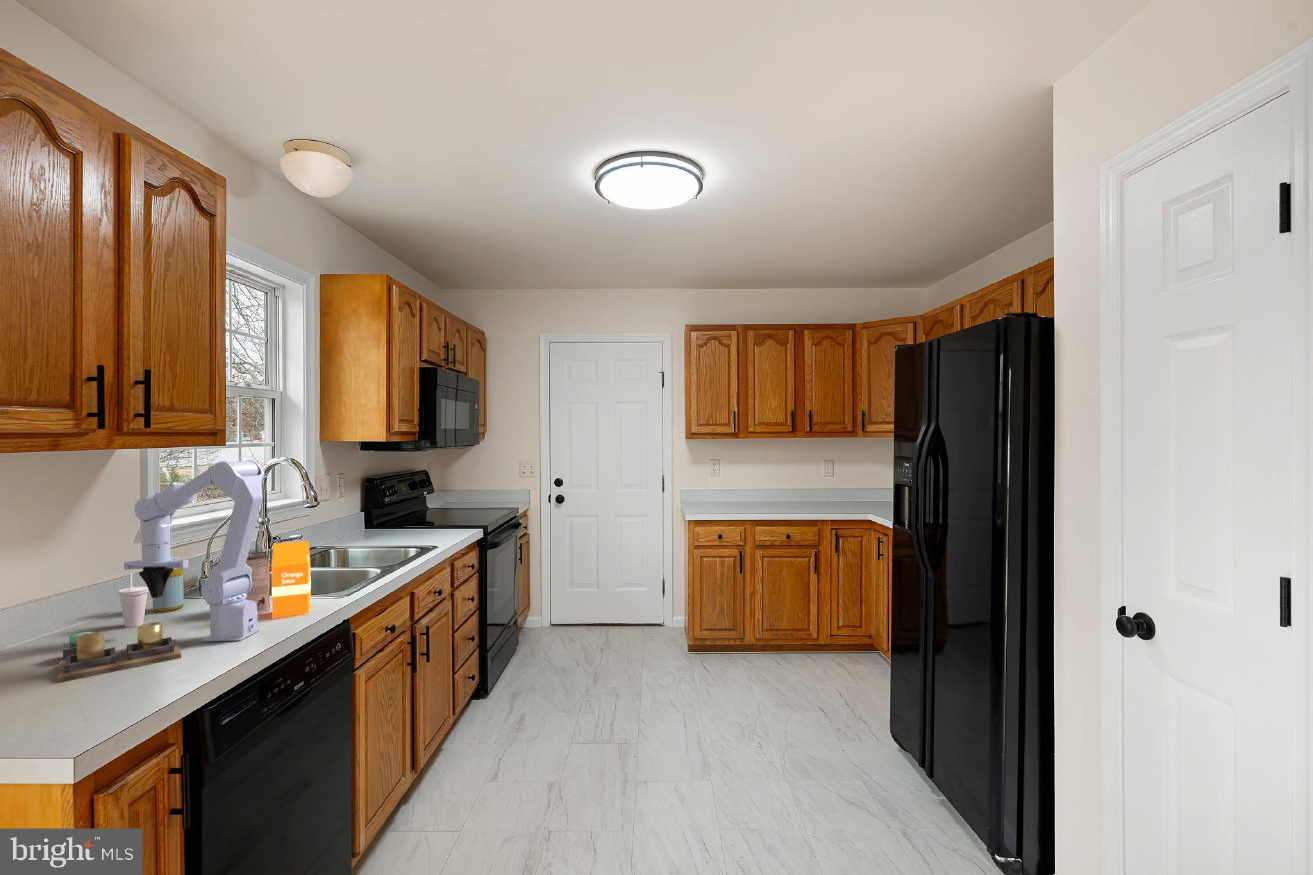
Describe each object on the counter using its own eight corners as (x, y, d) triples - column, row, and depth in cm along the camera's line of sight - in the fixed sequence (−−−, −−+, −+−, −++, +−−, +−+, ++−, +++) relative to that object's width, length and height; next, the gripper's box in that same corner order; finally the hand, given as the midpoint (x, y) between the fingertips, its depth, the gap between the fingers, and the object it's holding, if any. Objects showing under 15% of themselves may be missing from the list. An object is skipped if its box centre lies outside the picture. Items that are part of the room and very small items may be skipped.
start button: (93, 638, 144) (93, 630, 144) (93, 642, 141) (93, 634, 141) (69, 642, 141) (69, 634, 141) (69, 646, 138) (68, 638, 138)
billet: (163, 646, 144) (163, 621, 144) (161, 652, 140) (161, 625, 140) (139, 650, 141) (138, 624, 141) (136, 656, 138) (136, 629, 138)
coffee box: (237, 609, 178) (236, 553, 178) (262, 604, 183) (262, 550, 183) (244, 615, 172) (243, 558, 172) (270, 610, 177) (269, 554, 176)
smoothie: (113, 627, 163) (112, 574, 163) (142, 620, 169) (141, 569, 169) (125, 630, 160) (124, 576, 160) (154, 623, 166) (153, 571, 166)
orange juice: (276, 611, 176) (274, 541, 176) (311, 607, 179) (310, 539, 179) (272, 618, 169) (270, 546, 169) (308, 614, 172) (307, 543, 172)
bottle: (163, 606, 182) (162, 556, 182) (189, 605, 183) (188, 555, 183) (146, 613, 175) (146, 561, 175) (173, 612, 176) (172, 560, 176)
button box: (99, 650, 145) (99, 637, 145) (99, 656, 141) (99, 643, 141) (63, 656, 141) (63, 643, 141) (62, 663, 137) (62, 650, 137)
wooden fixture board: (175, 643, 149) (174, 614, 149) (181, 657, 139) (180, 626, 139) (60, 665, 135) (59, 633, 135) (57, 682, 126) (57, 648, 126)
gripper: (196, 540, 161) (197, 592, 161) (139, 541, 161) (140, 593, 161) (176, 545, 154) (177, 599, 154) (116, 546, 154) (117, 600, 154)
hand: (157, 596), depth 157 cm, fingers closed
